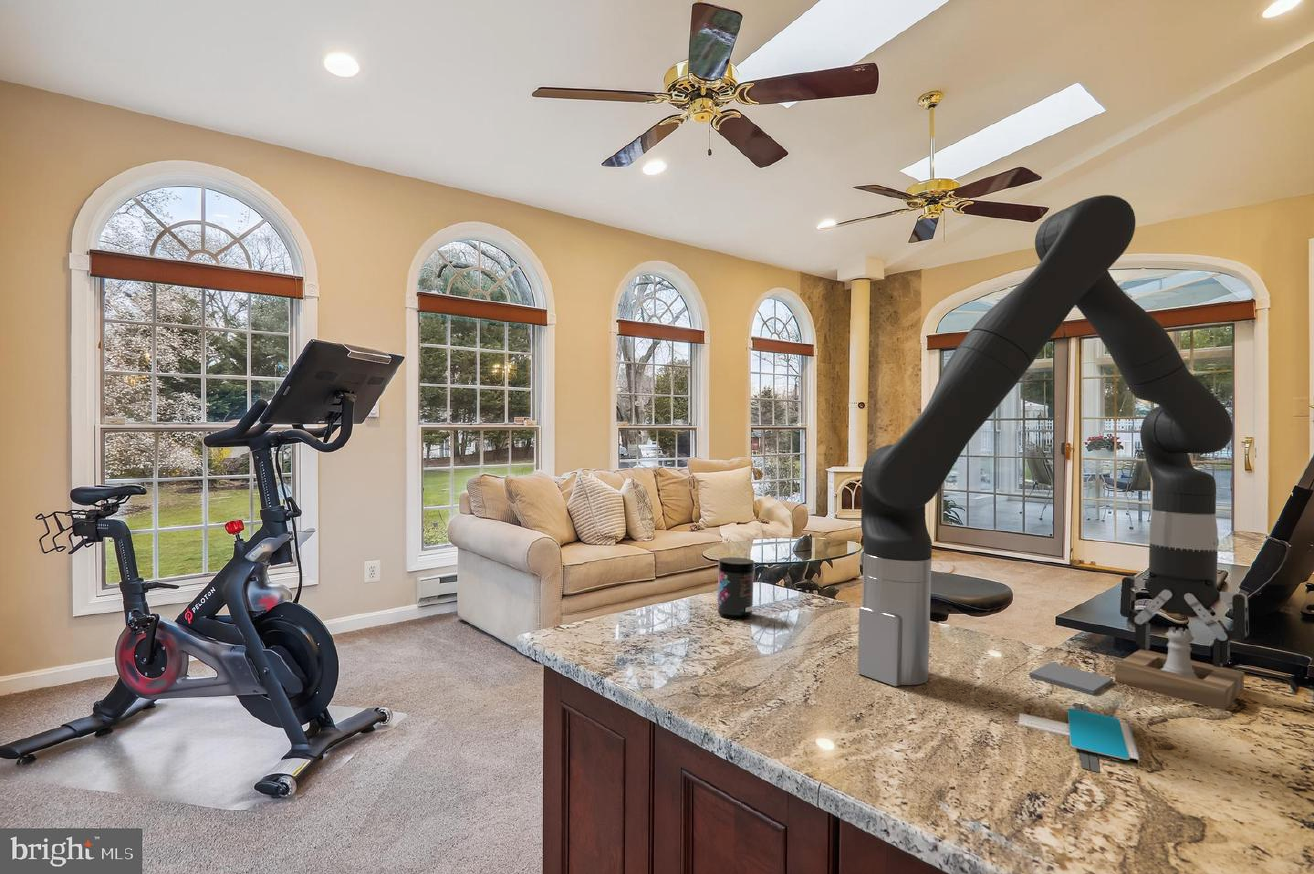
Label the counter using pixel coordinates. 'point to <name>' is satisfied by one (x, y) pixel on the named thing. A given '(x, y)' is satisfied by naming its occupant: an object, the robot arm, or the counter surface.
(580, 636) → the counter surface
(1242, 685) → the pocket block
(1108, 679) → the slate coaster
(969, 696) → the counter surface
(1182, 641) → the rook chess piece
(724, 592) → the supplement container
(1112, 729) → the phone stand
